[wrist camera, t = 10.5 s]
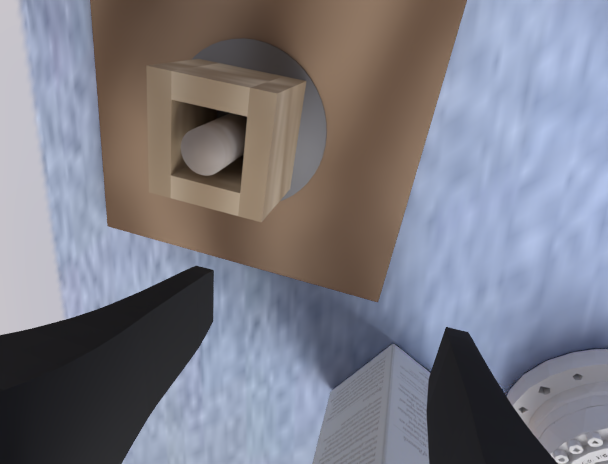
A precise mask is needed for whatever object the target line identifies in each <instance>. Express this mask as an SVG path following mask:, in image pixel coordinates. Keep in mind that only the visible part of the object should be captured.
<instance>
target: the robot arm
mask: <svg viewBox="0 0 608 464" xmlns="http://www.w3.org/2000/svg"><path fill="white" fill-rule="evenodd" d="M213 282H214V270H211V269H207V268H203V267H199V266H195V267H192V268H190V269H187V270H185V271H183V272H181V273H179V274H177V275H175V276H173V277H171V278H168V279H166V280H164V281H162V282H160V283H158V284H156V285H154V286H152V287H149V288H147V289H145V290H143V291H141V292H139V293H136V294H134V295H132V296H129V297H127V298H124V299H122V300H120V301H117V302H115V303H113V304H110V305H108V306H105V307H102V308H100V309H97V310H94V311H91V312H88V313H85V314H82V315H79V316H76V317H73V318H70V319H66V320H63V321H59V322H56V323H51V324H48V325H44V326H40V327H36V328H32V329H28V330H24V331H19V332H14V333H9V334H4V335H0V464H122V462H123V460H124V458H125V457H126V455H127V453H128V451H129V449H130V448H131V446H132V444H133V442H134V441H135V439H136V437H137V436H138V434H139V432H140V431H141V429H142V427H143V426H144V424H145V422H146V421H147V419H148V417H149V416H150V414H151V413H152V411H153V410H154V408H155V407H156V405H157V404H158V402H159V401H160V400H161V398H162V397H163V396H164V394H165V393H166V392H167V390H168V389H169V388H170V386H171V385H172V384H173V382H174V381H175V380H176V378H177V377H178V375H179V374H180V373H181V371H182V370H183V369H184V367H185V366H186V365H187V363H188V362H189V361H190V359H191V358H192V356H193V355H194V354H195V352H196V351H197V349H198V348H199V346H200V345H201V343H202V341H203V339H204V338H205V336H206V334H207V332H208V330H209V328H210V326H211V324H212V322H213ZM426 412H427V432H428V450H429V464H558V463H557V462H556V461H555V460H554V458H553V457H552V456H551V455H550V454H549V453H548V451H547V450H546V449H545V448H544V446H543V445H542V444H541V443H540V442H539V440H538V439H537V438H536V437H535V436H534V434H533V433H532V432H531V430H530V429H529V428H528V427H527V425H526V424H525V423H524V421H523V420H522V418H521V417H520V416H519V414H518V413H517V411H516V410H515V409H514V407H513V406H512V404H511V403H510V401H509V400H508V398H507V397H506V395H505V394H504V392H503V390H502V389H501V387H500V386H499V384H498V383H497V381H496V379H495V378H494V376H493V374H492V373H491V371H490V369H489V368H488V366H487V364H486V363H485V361H484V359H483V357H482V356H481V354H480V352H479V350H478V348H477V347H476V345H475V343H474V341H473V339H472V338H471V336H470V334H469V333H468V332H465V331H461V330H456V329H452V328H448V327H446V329H445V332H444V335H443V338H442V341H441V344H440V347H439V350H438V353H437V356H436V359H435V362H434V365H433V368H432V371H431V374H430V376H429V381H428V395H427V411H426Z"/></svg>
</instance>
